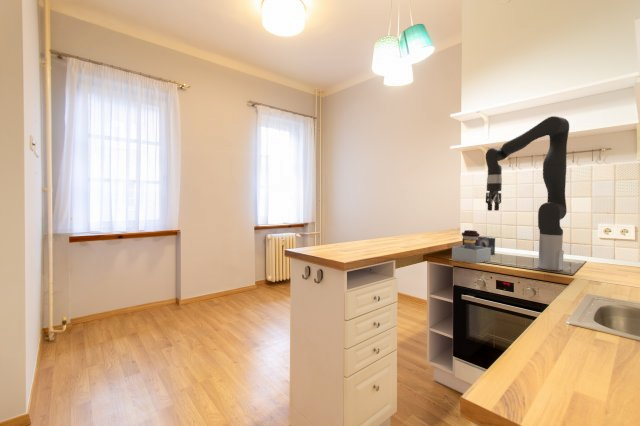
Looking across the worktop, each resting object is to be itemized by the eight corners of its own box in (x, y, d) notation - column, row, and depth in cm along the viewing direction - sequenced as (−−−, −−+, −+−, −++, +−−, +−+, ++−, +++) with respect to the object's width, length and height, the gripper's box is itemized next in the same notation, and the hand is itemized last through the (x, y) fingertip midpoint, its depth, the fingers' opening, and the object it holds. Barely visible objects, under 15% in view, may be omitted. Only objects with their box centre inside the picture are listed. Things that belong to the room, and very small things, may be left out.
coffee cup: (458, 254, 189) (458, 230, 189) (465, 252, 195) (466, 229, 195) (474, 256, 181) (474, 231, 181) (481, 254, 187) (482, 231, 187)
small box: (473, 252, 196) (473, 236, 196) (480, 251, 199) (480, 236, 199) (488, 255, 187) (488, 238, 186) (495, 254, 190) (495, 238, 189)
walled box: (490, 260, 171) (490, 247, 170) (476, 263, 161) (476, 250, 161) (466, 256, 182) (466, 244, 182) (451, 259, 173) (452, 247, 172)
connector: (475, 257, 172) (475, 240, 172) (471, 258, 169) (471, 241, 169) (467, 256, 176) (468, 239, 175) (463, 257, 173) (464, 240, 172)
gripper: (495, 182, 169) (494, 210, 169) (506, 183, 177) (505, 210, 178) (481, 182, 175) (480, 210, 175) (493, 183, 183) (492, 210, 184)
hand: (493, 210), depth 177 cm, fingers open, 8 cm apart
